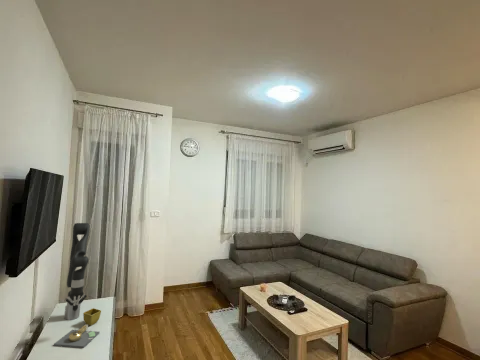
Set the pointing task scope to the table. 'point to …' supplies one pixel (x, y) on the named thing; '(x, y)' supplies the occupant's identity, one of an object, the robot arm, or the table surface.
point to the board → (85, 340)
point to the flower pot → (91, 316)
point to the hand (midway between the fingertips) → (75, 310)
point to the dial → (77, 334)
